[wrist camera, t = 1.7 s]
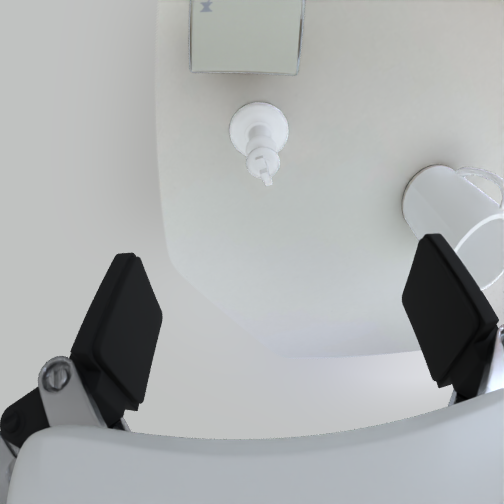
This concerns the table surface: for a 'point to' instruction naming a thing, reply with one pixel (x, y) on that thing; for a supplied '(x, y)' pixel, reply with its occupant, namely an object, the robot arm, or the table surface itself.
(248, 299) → the table surface
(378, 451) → the robot arm
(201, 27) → the box
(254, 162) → the chess piece
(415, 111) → the table surface
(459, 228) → the mug
